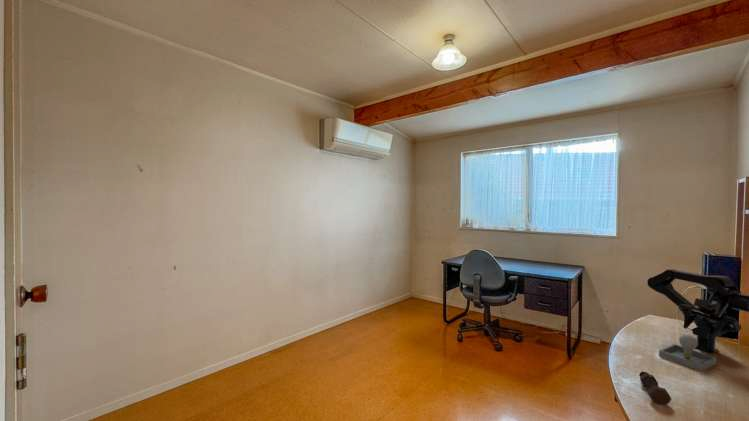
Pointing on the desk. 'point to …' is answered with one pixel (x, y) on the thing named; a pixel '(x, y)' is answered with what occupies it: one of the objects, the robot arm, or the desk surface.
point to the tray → (695, 362)
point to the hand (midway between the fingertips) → (697, 332)
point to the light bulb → (688, 344)
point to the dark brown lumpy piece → (654, 389)
